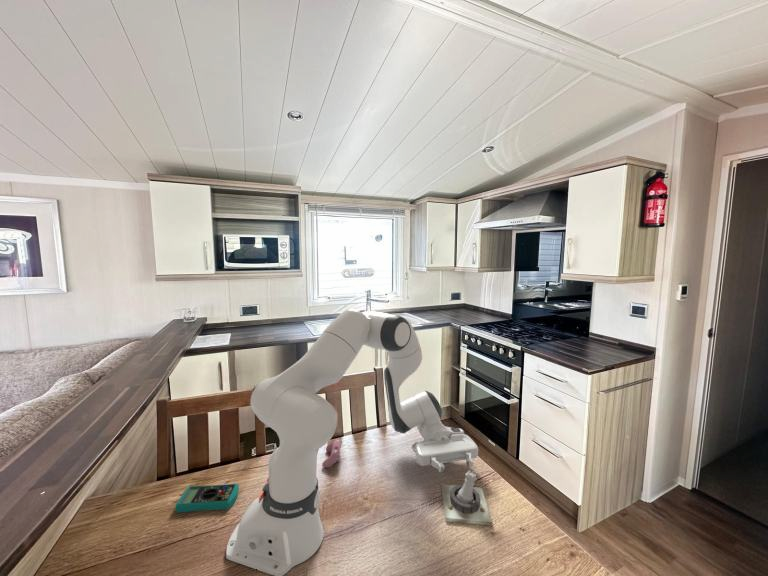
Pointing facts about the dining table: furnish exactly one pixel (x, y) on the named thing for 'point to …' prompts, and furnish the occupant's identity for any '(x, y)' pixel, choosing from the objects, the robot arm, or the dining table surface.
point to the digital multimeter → (207, 498)
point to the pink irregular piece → (332, 453)
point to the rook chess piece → (467, 488)
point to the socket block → (465, 506)
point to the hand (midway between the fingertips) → (456, 467)
